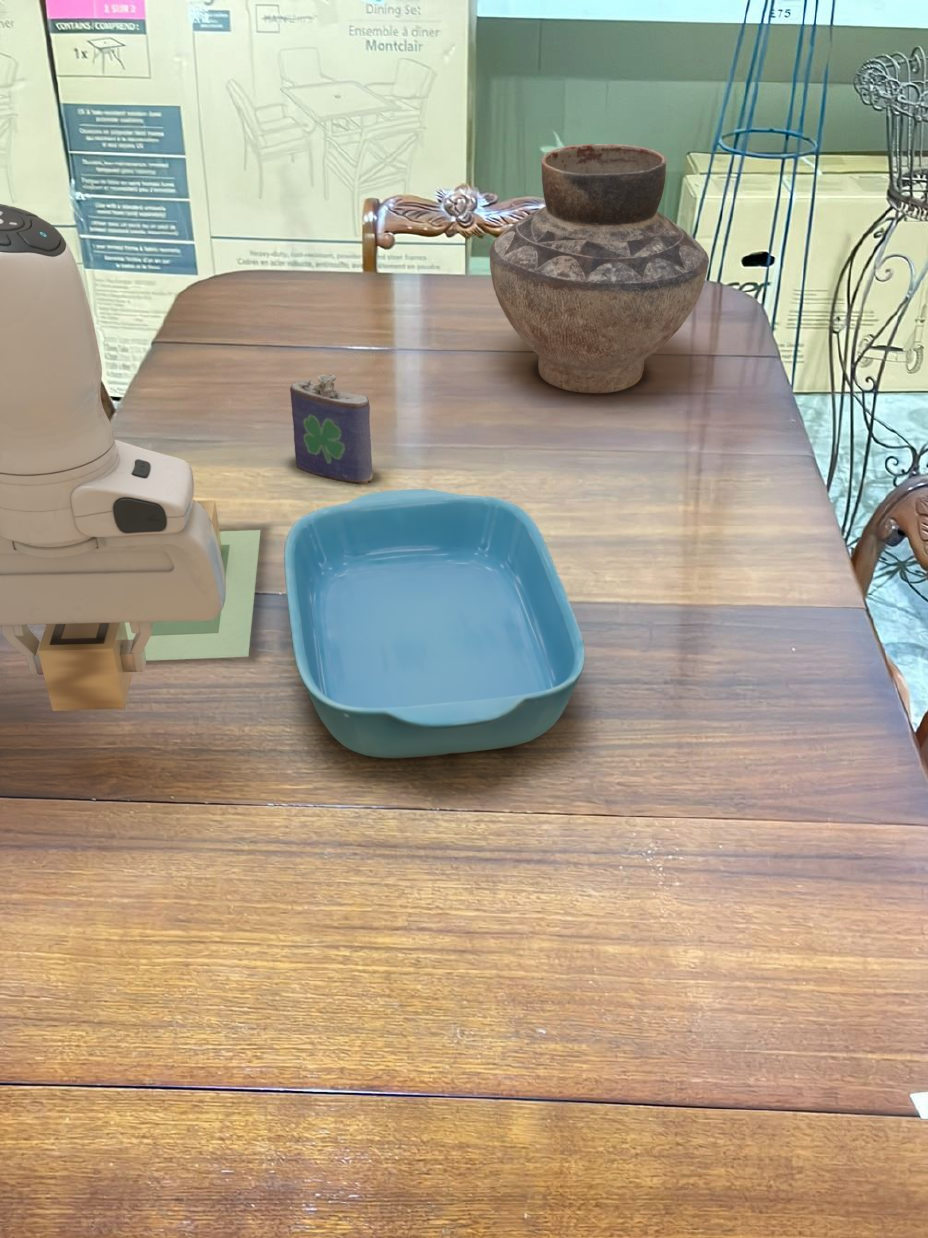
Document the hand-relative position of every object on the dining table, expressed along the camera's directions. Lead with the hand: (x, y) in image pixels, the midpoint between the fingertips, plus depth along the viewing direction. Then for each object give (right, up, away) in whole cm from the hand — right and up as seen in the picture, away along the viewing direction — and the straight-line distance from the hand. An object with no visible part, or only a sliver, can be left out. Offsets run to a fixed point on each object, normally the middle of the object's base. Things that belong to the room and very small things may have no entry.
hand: (90, 668), depth 88 cm
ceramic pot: (+42, +44, +63) cm, 88 cm away
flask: (+13, +26, +43) cm, 52 cm away
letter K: (+1, +14, +28) cm, 31 cm away
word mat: (+1, +10, +25) cm, 27 cm away
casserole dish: (+23, +3, +17) cm, 29 cm away
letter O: (0, -1, +1) cm, 2 cm away
